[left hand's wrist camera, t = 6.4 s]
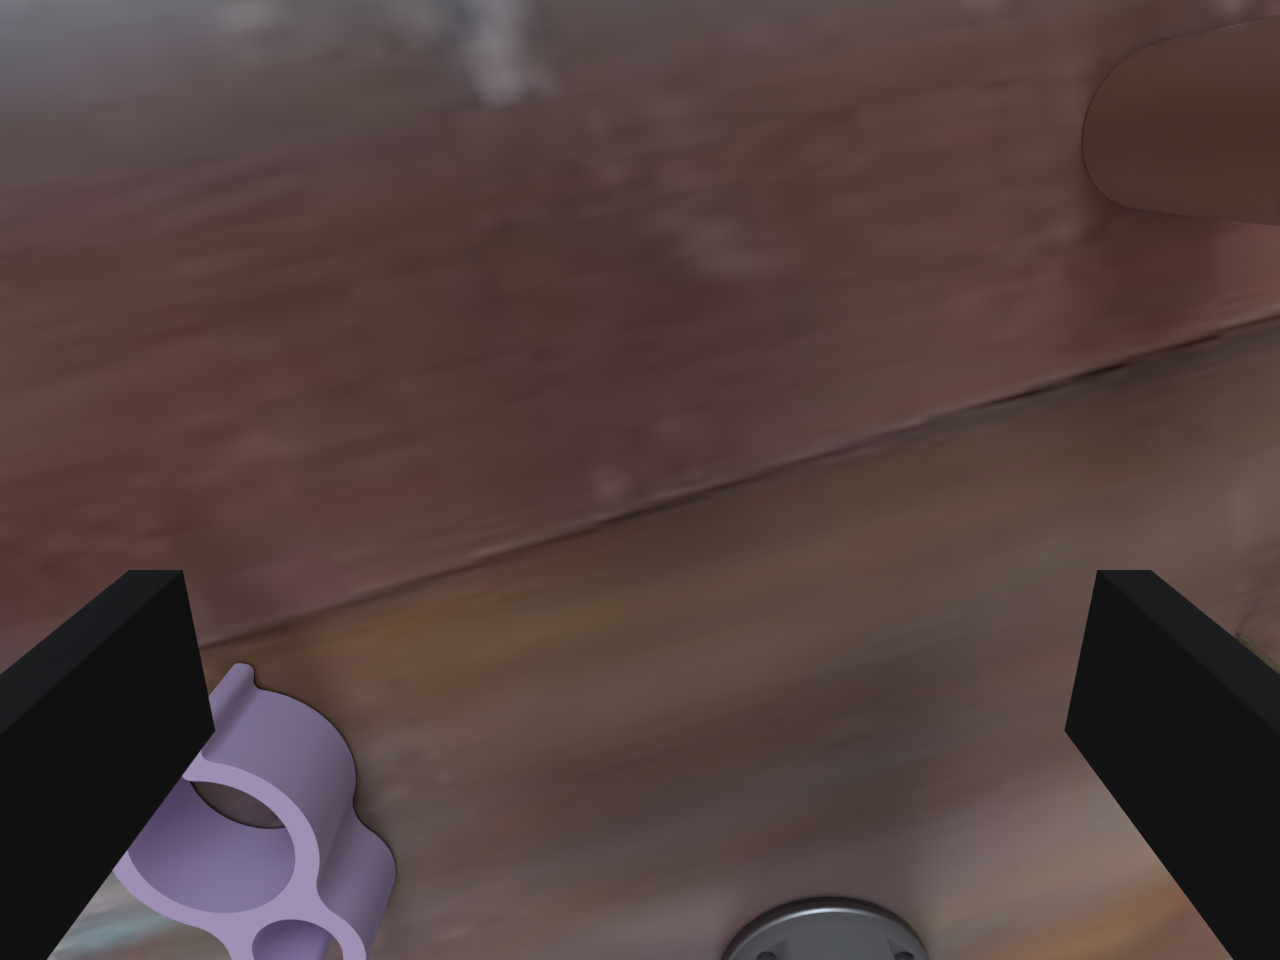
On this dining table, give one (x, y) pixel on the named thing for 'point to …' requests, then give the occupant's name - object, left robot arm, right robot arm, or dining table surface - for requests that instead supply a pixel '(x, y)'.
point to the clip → (266, 837)
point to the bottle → (1193, 126)
